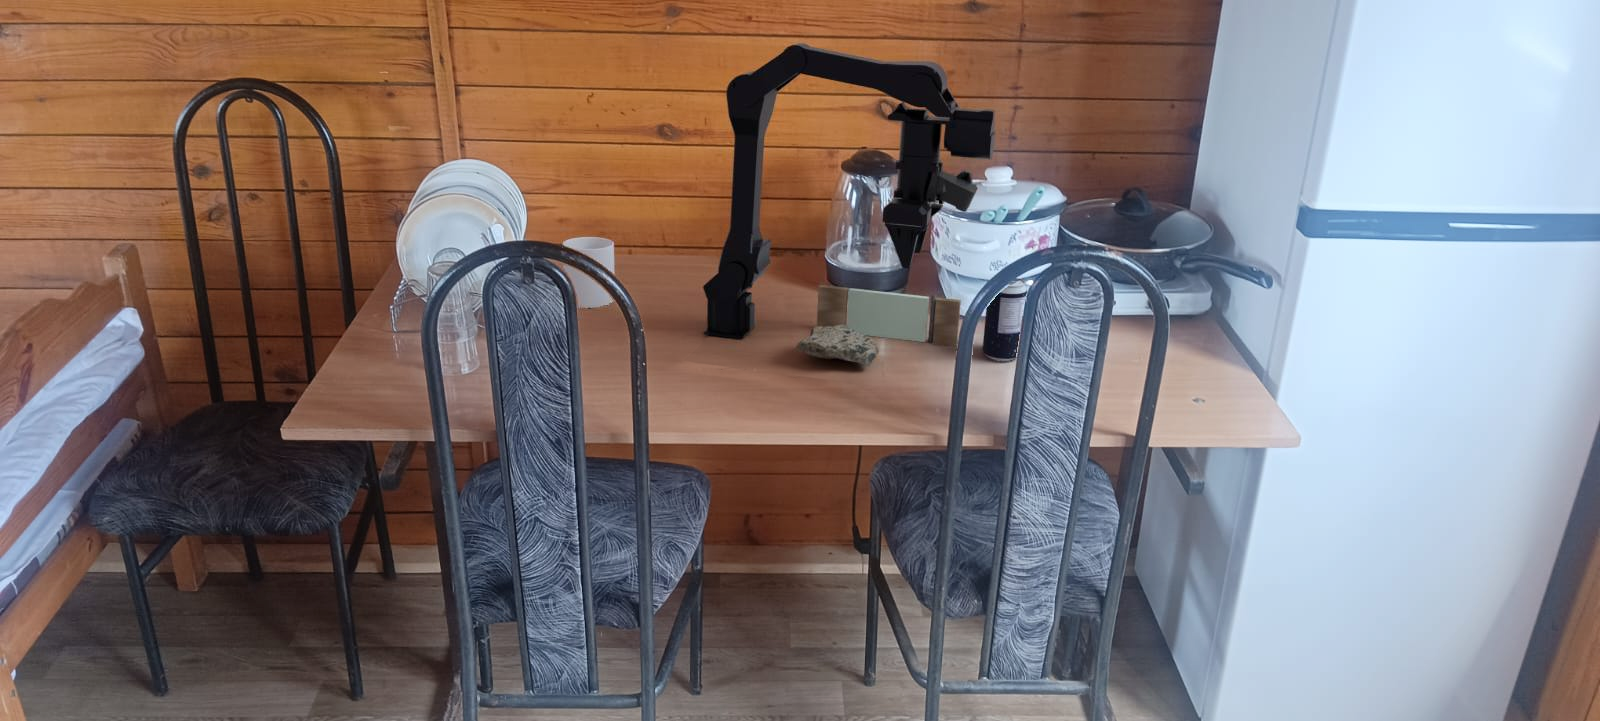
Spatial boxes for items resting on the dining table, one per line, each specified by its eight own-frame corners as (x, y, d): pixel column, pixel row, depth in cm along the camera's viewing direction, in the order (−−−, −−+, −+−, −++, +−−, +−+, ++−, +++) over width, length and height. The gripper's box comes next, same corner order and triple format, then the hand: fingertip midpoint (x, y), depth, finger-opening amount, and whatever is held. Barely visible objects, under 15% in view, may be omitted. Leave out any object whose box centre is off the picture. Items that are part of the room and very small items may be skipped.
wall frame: (816, 332, 181) (818, 283, 178) (818, 330, 182) (820, 281, 179) (955, 349, 176) (960, 299, 173) (956, 346, 177) (961, 297, 174)
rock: (859, 372, 162) (861, 343, 160) (789, 359, 166) (791, 330, 165) (889, 358, 171) (891, 329, 170) (822, 346, 176) (824, 318, 174)
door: (846, 332, 180) (848, 289, 177) (847, 330, 181) (850, 288, 178) (924, 342, 177) (928, 298, 175) (926, 340, 178) (929, 296, 176)
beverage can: (1022, 354, 175) (1030, 278, 171) (1016, 366, 170) (1025, 288, 166) (985, 349, 176) (992, 273, 172) (978, 360, 171) (985, 283, 167)
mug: (580, 288, 199) (579, 230, 196) (627, 292, 198) (626, 233, 195) (557, 308, 188) (555, 247, 184) (606, 312, 187) (605, 251, 183)
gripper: (967, 169, 153) (957, 282, 158) (983, 148, 170) (974, 250, 175) (885, 162, 156) (878, 274, 161) (909, 142, 173) (902, 243, 178)
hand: (911, 260), depth 169 cm, fingers open, 9 cm apart
